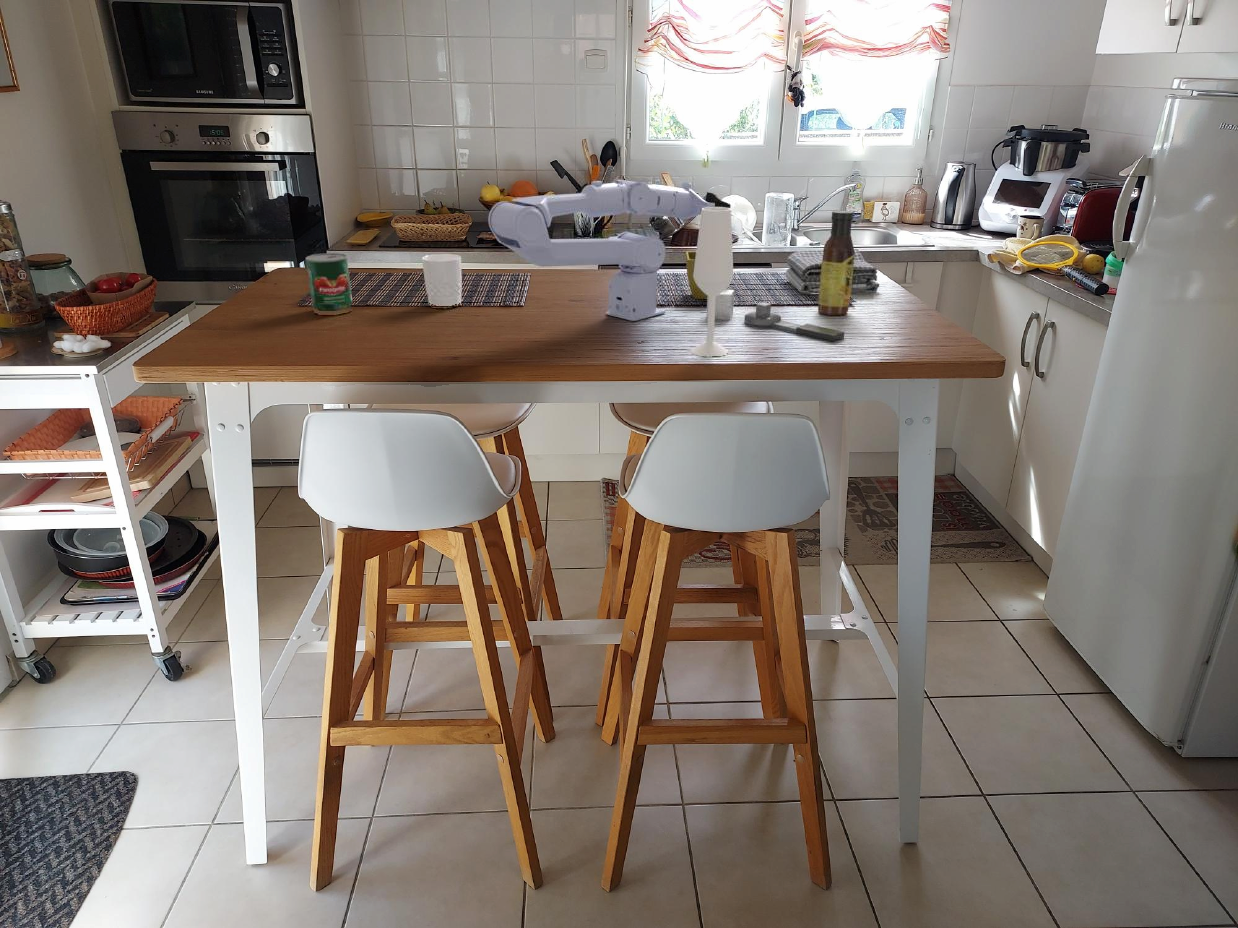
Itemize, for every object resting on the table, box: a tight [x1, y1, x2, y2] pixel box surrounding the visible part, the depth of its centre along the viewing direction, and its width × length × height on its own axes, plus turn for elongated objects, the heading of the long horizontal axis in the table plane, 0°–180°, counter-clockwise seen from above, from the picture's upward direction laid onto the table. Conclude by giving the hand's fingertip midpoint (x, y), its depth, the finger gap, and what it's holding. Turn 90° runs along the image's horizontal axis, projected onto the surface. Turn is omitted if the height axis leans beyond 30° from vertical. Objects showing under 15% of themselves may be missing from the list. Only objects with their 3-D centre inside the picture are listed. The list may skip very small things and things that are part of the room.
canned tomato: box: [305, 252, 353, 311], centre depth 171 cm, size 8×8×11 cm
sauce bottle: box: [817, 210, 855, 316], centre depth 168 cm, size 7×6×20 cm
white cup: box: [421, 253, 463, 306], centre depth 175 cm, size 8×8×10 cm
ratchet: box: [743, 301, 845, 344], centre depth 160 cm, size 20×7×4 cm, turn 45°
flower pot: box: [685, 251, 708, 300], centre depth 183 cm, size 9×9×9 cm
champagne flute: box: [690, 207, 734, 358], centre depth 142 cm, size 7×7×24 cm
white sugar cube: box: [706, 288, 735, 321], centre depth 168 cm, size 5×5×5 cm
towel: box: [784, 248, 880, 295], centre depth 192 cm, size 15×18×8 cm
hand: (715, 207), depth 174 cm, fingers open, 7 cm apart
